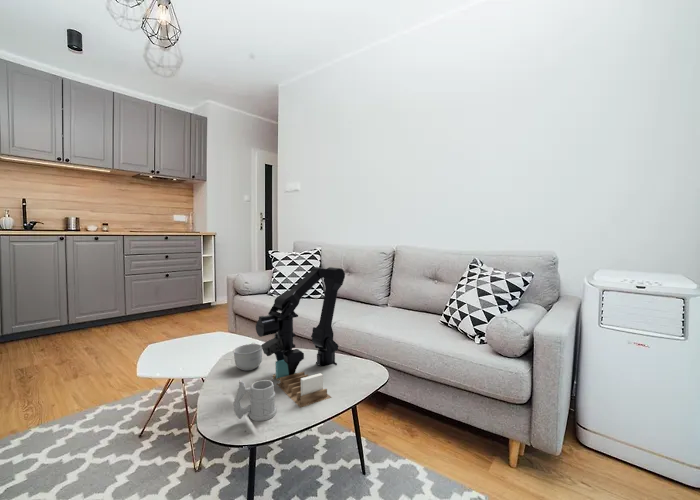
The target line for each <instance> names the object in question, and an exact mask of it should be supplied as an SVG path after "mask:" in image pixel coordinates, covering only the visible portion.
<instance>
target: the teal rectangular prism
mask: <svg viewBox="0 0 700 500" xmlns="http://www.w3.org/2000/svg"><path fill="white" fill-rule="evenodd" d="M295 373H296V372H295ZM295 373H294V374H295ZM275 374H276V378H280V377H284V376H288V375H289V372H288V365H287V363H286V362H284V360H280V361H277V360H276V361H275Z"/></svg>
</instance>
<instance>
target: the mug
mask: <svg viewBox="0 0 700 500" xmlns="http://www.w3.org/2000/svg"><path fill="white" fill-rule="evenodd" d="M238 383H239V384H238V387H237V391H236V394H235V397H234V400H233V402H232V403H233V409H234V410H233V411H234V415H235V416H237V418H238V419H239V420H241V419H242V418H243V417H244V416H245V415H247V413H248V417H249V419H251V421H255V422H263V421H267V420H270V419H272V418H274V416H276V414H277V408H276V405H275V404H276V402H275V397H276V391H275V388H274V387H275V385H274V382H273V381H272V380H270V379H269V380H268V379H263V380H262V379H261V380H257V381H255V382H253V383H252V384H250V386H249V387H246V384H245V382H244V381H243V380H241V379H240V380H239V381H238ZM247 393H249V397H248V399H249V400H250V404H248V405H246V406H245V407H243V406H242V405H241V400H242V398H243V396H244V395H245V394H247Z"/></svg>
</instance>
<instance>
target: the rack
mask: <svg viewBox="0 0 700 500" xmlns="http://www.w3.org/2000/svg"><path fill="white" fill-rule="evenodd" d="M295 373H296V374H293V375H289V376H285V377H281V378H280V380H279V382H278V383H276V386H278V388H280V389H281V390H282V392H284V393H285V394H286V395H287V396H288V398H290V399H291V401H293V402H294V403H295V404H296V405H297V406H298V407H299V408H301V409H302V408H303V407H307V406H310V405H313V404H317V403H319V402H322V401H325V400H328V399H332V398H333V397H332V396H331V395H330V394H328V388H323V390H319V391H316V392H313V393H310V394H306V395H303V396H301V378H304V377H308V376H309V374H308V373H307V374H305V373H306V372H305V371H300V372H295Z"/></svg>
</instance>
